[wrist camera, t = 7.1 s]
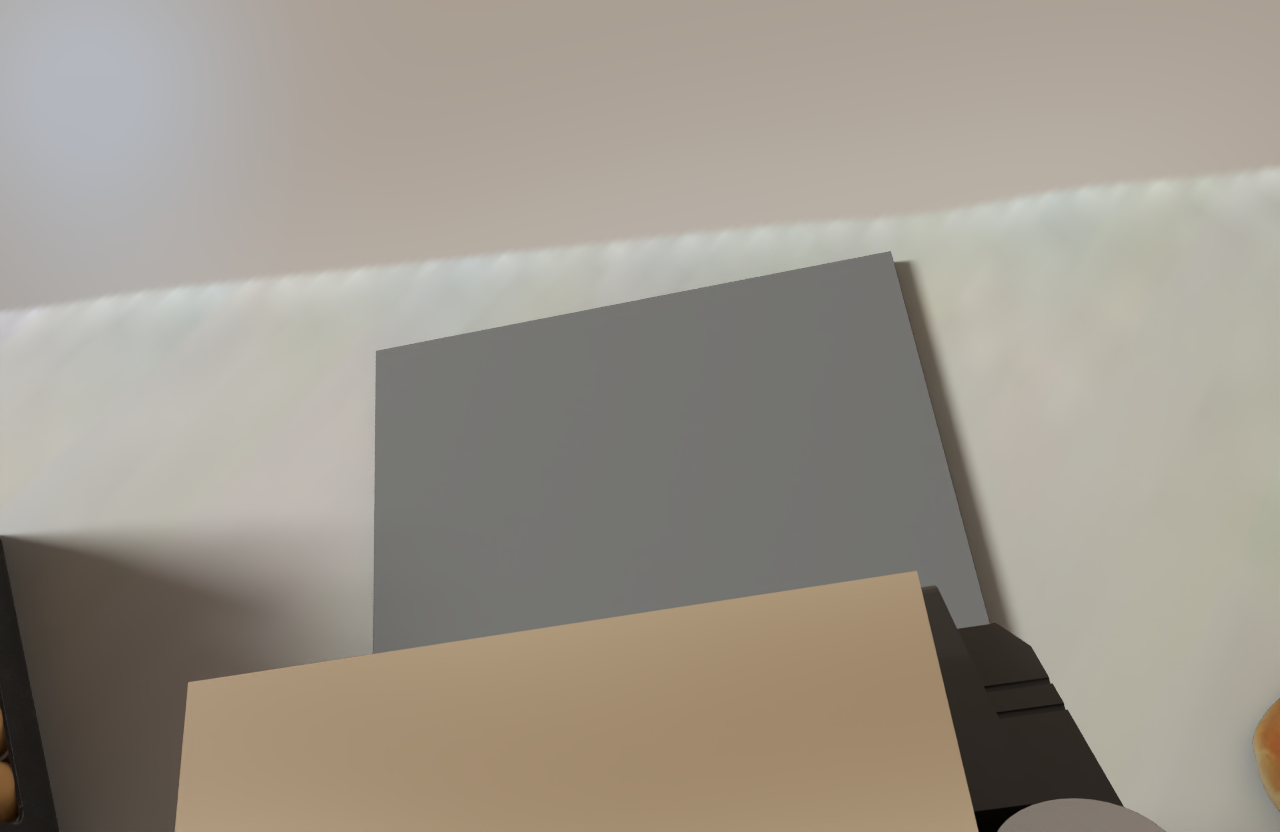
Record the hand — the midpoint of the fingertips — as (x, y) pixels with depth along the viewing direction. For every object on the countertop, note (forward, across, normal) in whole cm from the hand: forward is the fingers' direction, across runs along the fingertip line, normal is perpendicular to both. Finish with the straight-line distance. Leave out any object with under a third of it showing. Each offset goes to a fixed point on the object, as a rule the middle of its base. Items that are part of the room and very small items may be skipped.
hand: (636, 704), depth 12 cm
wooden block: (+2, 0, +4) cm, 5 cm away
